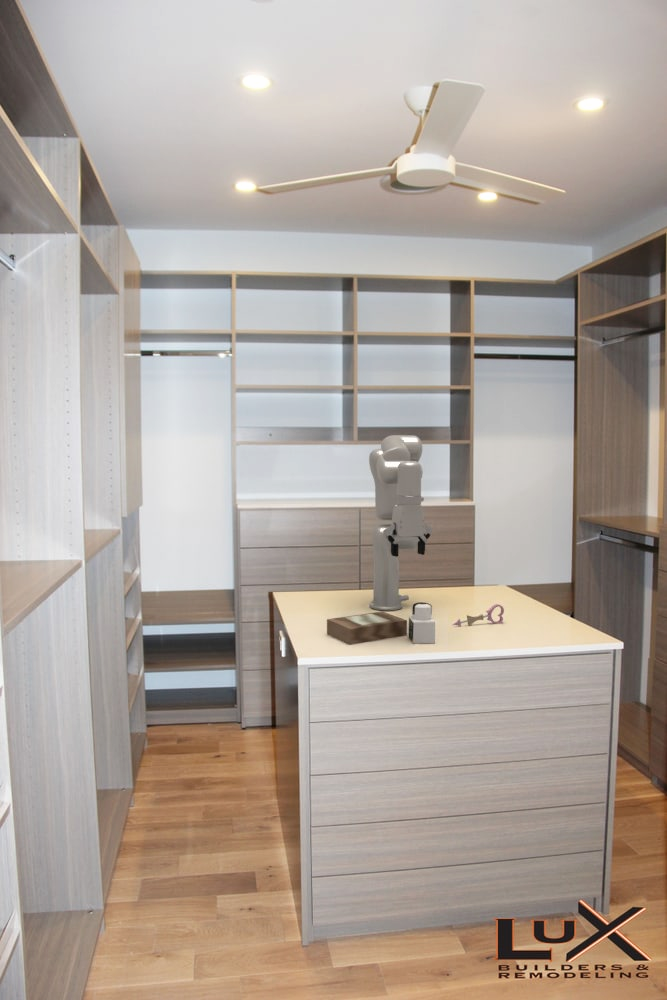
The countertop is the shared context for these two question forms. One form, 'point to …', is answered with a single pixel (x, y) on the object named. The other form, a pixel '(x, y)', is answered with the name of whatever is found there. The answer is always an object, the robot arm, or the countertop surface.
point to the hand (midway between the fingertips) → (408, 555)
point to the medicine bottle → (421, 624)
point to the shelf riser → (366, 627)
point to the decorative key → (480, 617)
